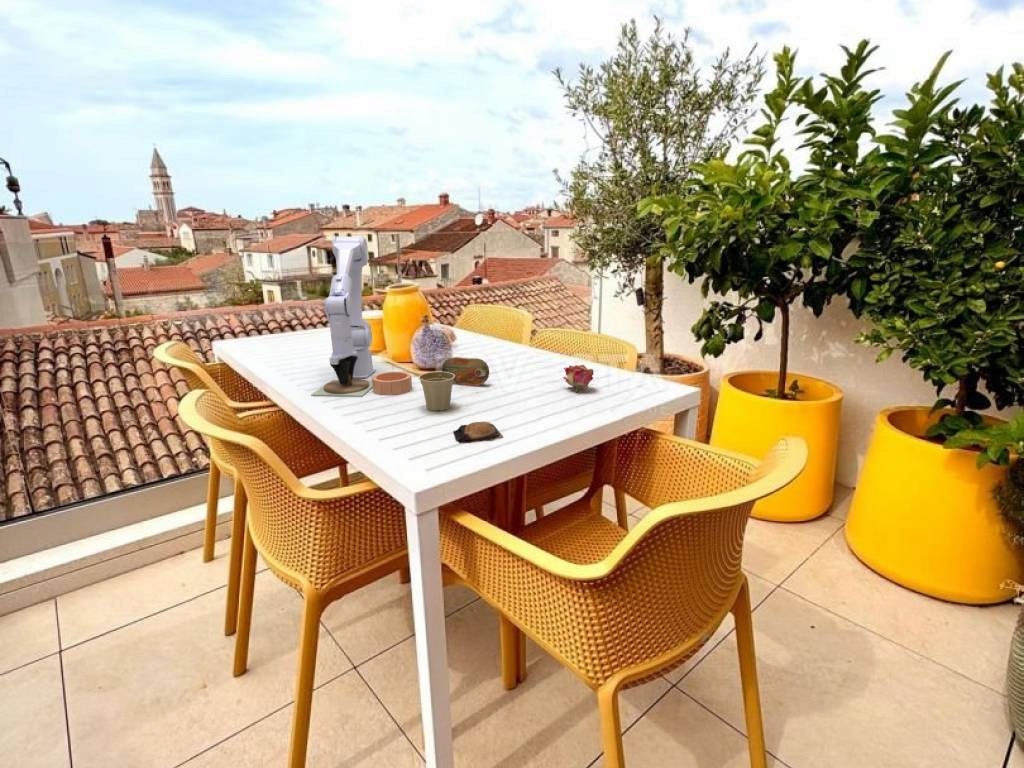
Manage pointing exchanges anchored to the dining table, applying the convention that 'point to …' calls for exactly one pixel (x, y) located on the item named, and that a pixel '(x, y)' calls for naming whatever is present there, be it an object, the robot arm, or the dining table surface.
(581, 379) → the flower
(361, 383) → the walnut lid
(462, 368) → the tin
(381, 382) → the terracotta bowl
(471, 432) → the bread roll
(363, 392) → the rubber mat
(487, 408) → the dining table surface
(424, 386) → the flower pot
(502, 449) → the dining table surface
